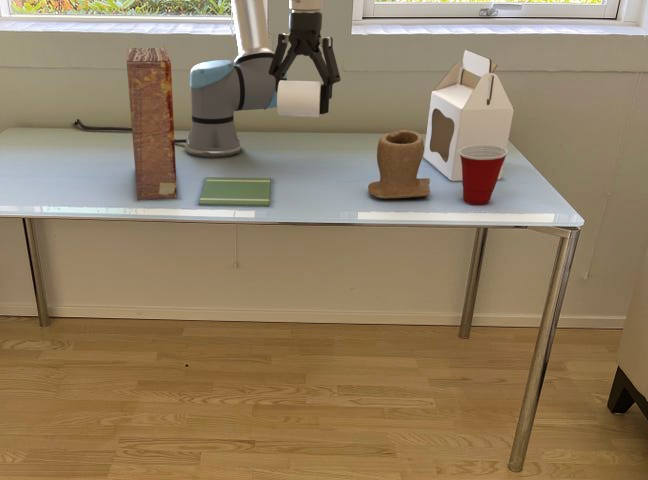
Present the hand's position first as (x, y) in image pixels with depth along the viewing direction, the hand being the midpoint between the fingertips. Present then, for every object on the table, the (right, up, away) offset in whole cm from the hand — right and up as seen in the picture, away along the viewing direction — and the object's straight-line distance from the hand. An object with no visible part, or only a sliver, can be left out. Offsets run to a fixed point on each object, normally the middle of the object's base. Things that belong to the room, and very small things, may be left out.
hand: (302, 110), depth 176 cm
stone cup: (+23, -22, -5) cm, 32 cm away
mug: (0, -1, +1) cm, 1 cm away
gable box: (+43, -10, +15) cm, 47 cm away
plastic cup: (+40, -24, -8) cm, 47 cm away
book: (-36, -17, +3) cm, 40 cm away
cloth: (-16, -21, -3) cm, 26 cm away
